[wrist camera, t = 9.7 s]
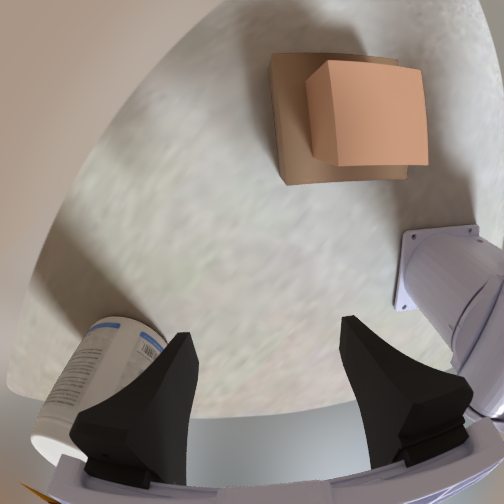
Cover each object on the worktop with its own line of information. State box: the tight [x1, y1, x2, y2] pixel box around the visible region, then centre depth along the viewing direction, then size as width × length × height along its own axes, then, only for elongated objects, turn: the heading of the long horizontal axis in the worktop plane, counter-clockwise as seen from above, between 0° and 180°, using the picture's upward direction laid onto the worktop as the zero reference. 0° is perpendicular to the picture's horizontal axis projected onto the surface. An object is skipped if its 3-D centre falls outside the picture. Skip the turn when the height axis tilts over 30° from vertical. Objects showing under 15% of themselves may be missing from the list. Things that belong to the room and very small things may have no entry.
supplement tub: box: [30, 317, 167, 467], centre depth 20 cm, size 10×10×15 cm
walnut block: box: [268, 53, 407, 186], centre depth 17 cm, size 8×8×4 cm
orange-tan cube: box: [305, 60, 428, 166], centre depth 12 cm, size 5×5×5 cm
